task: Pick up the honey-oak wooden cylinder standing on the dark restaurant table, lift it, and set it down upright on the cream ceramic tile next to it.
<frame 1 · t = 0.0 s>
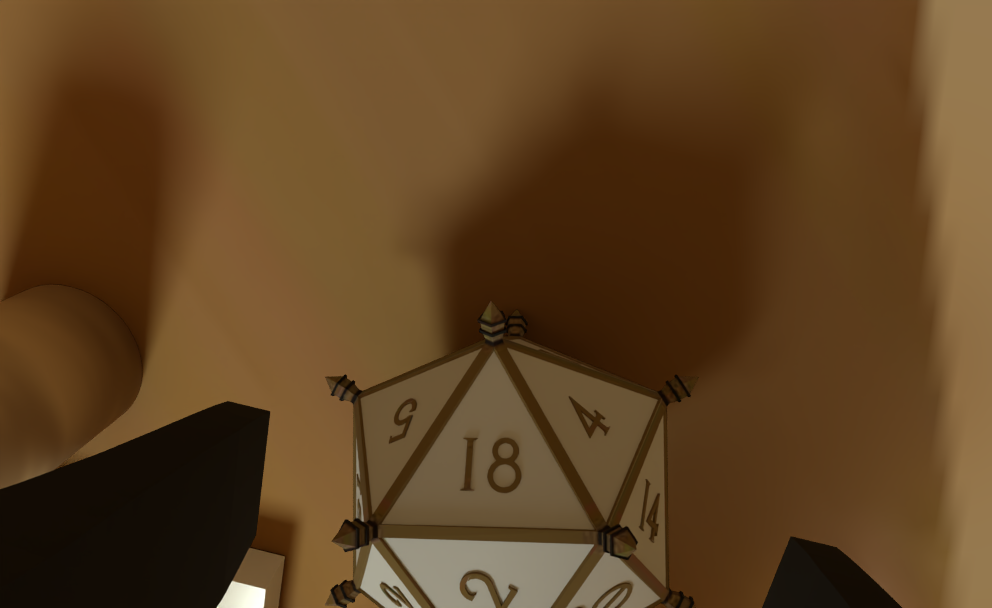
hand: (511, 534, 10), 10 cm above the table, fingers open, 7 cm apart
game die: (521, 410, 21), on the table
oak cylinder: (69, 357, 22), on the table
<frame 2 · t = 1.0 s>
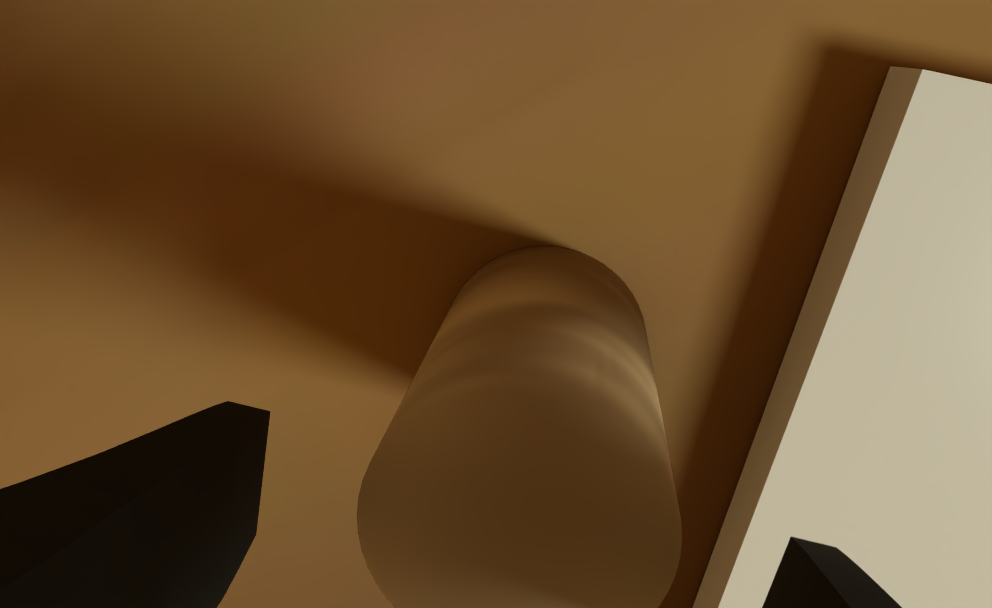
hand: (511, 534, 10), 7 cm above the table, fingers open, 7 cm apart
ceramic tile: (988, 573, 18), on the table
oak cylinder: (544, 342, 17), on the table
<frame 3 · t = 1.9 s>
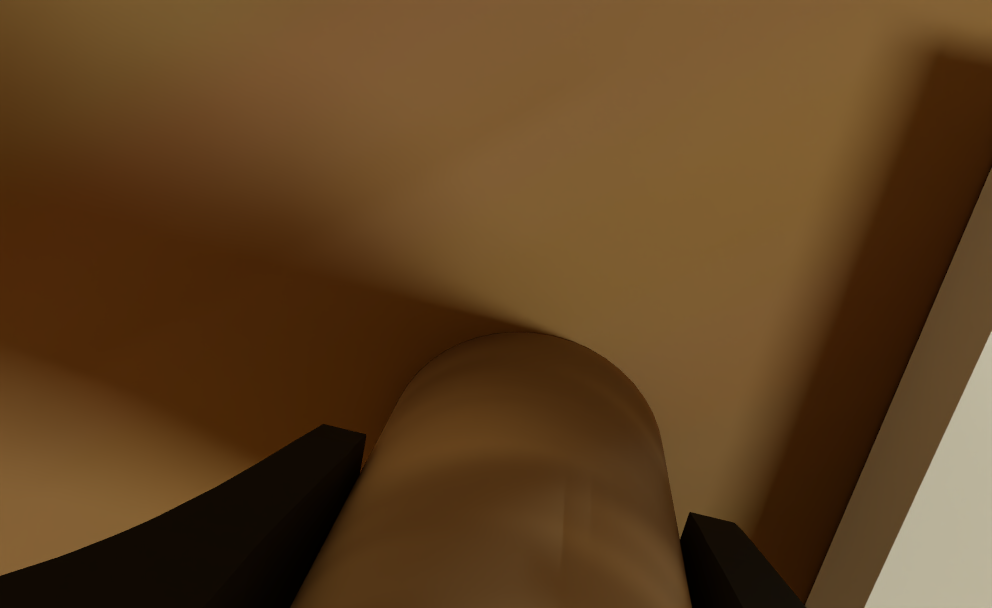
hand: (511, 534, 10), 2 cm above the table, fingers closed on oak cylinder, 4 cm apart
oak cylinder: (522, 461, 12), on the table, touching gripper
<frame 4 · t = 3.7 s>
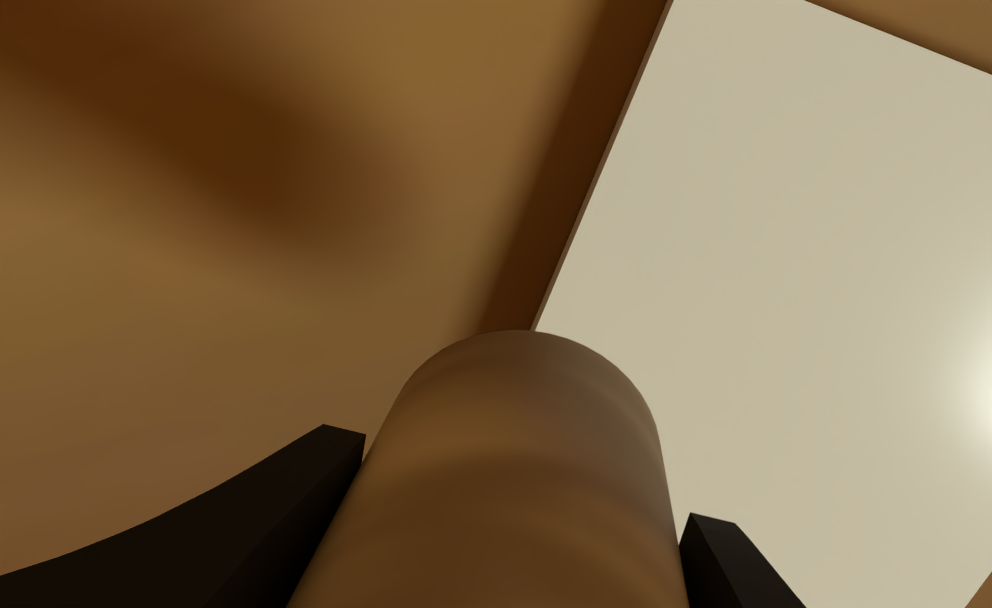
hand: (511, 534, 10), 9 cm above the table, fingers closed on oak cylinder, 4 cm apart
ceramic tile: (734, 458, 19), on the table
oak cylinder: (520, 458, 12), point 7 cm above the table, touching gripper
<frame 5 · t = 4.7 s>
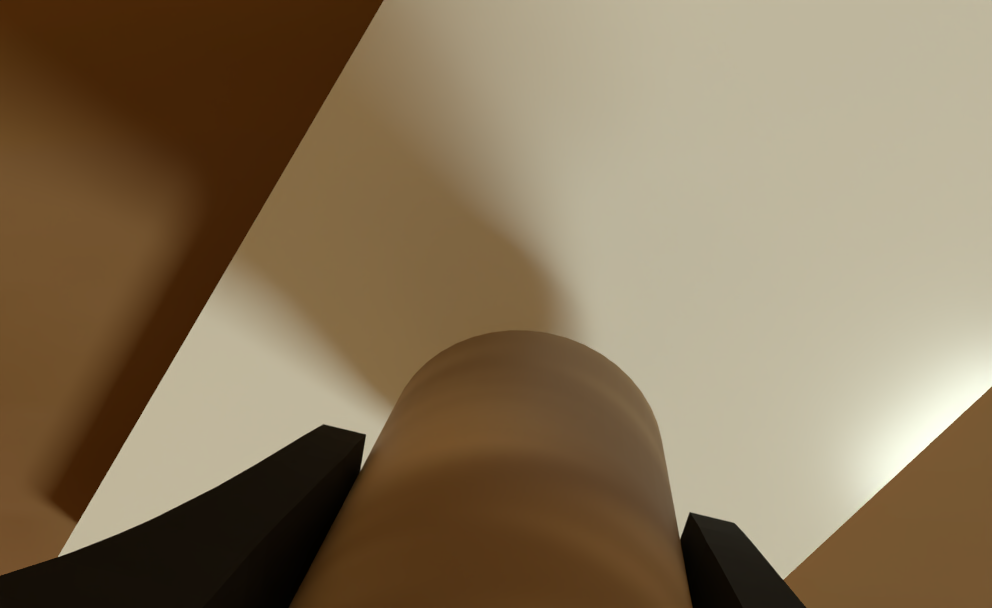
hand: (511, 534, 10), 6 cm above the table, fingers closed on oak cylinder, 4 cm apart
ceramic tile: (538, 369, 16), on the table
oak cylinder: (522, 459, 12), point 4 cm above the table, touching gripper
when the fingers open (4 cm above the table, at t = 5.4 s): oak cylinder stays where it is, resting on ceramic tile.
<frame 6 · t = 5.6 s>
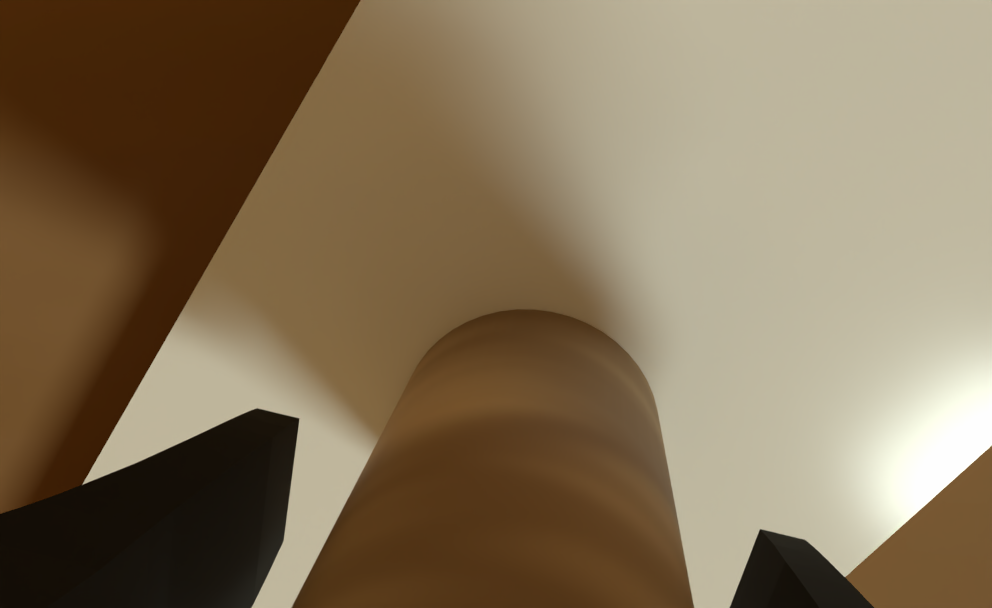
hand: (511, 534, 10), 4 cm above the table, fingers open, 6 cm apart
ceramic tile: (533, 393, 15), on the table
oak cylinder: (528, 430, 13), point 2 cm above the table, touching ceramic tile
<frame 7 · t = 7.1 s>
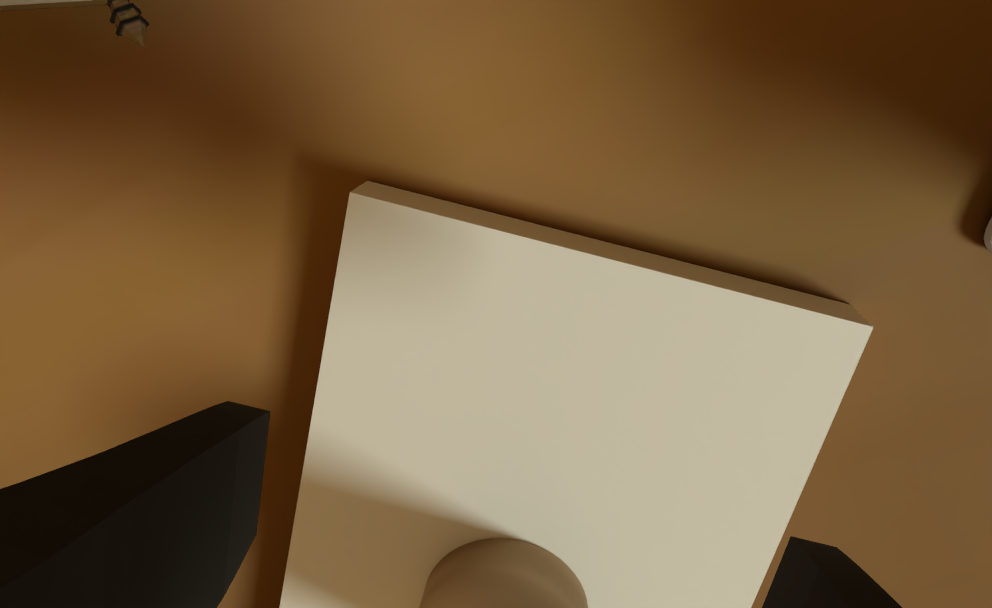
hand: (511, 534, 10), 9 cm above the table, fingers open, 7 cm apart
ceramic tile: (510, 571, 22), on the table
oak cylinder: (505, 607, 21), point 2 cm above the table, touching ceramic tile
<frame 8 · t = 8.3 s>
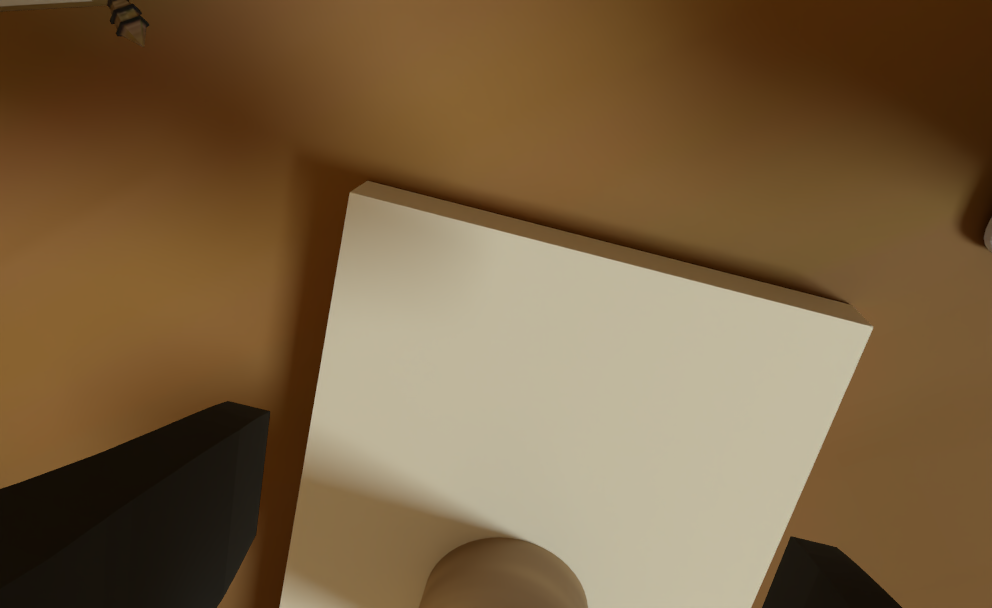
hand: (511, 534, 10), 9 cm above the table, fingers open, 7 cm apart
ceramic tile: (510, 571, 22), on the table
oak cylinder: (505, 607, 21), point 2 cm above the table, touching ceramic tile
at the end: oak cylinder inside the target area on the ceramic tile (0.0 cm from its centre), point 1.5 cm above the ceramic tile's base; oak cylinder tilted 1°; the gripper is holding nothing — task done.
